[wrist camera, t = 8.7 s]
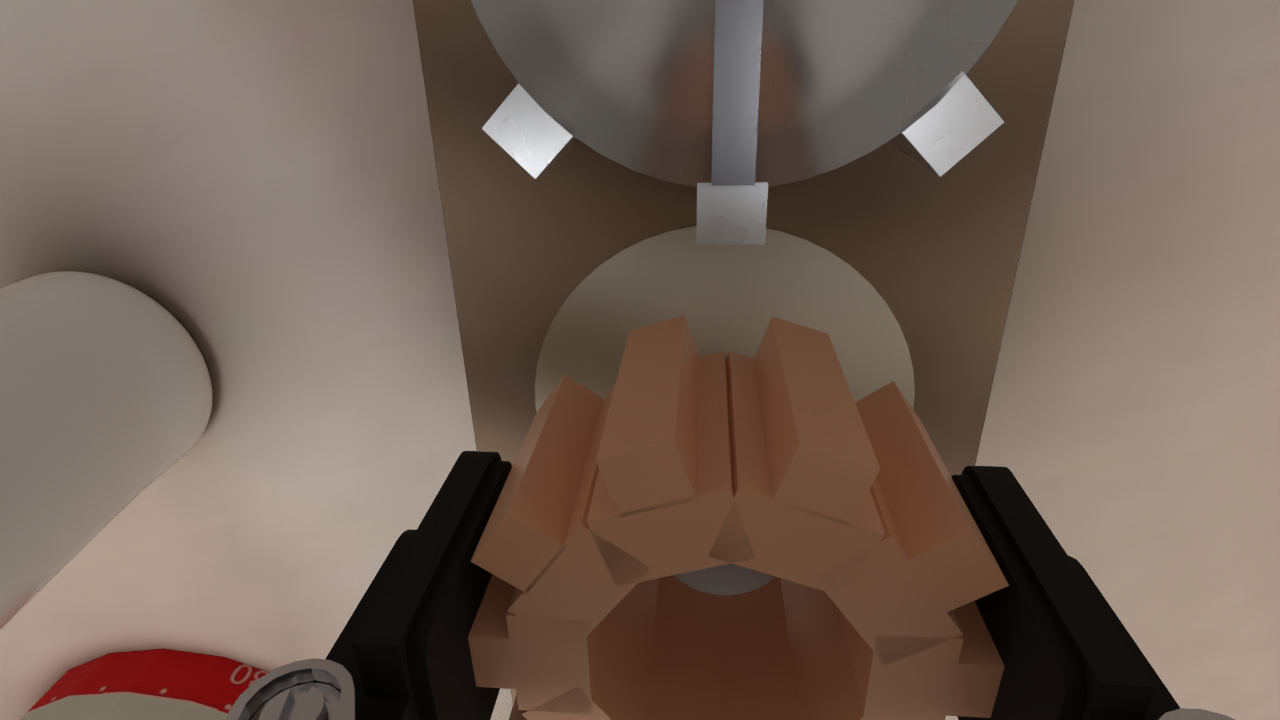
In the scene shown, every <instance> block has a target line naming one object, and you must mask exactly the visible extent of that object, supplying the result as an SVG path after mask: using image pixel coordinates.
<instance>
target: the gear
mask: <svg viewBox="0 0 1280 720" xmlns="http://www.w3.org/2000/svg"><path fill="white" fill-rule="evenodd" d="M471 2H472V4H473V7H474V9H475V11H476V14H477V16H478V18H479V20H480V22H481V24H482V26H483V27H484V29H485V31H486V33H487V35H488V37H489V38H490V40H491V42H492V44H493V46H494V48H495V49H496V51H497V53H498V54H499V56H500V57H501V59H502V60H503V61H504V63H505V64H506V66H507V67H508V68H509V70H510V71H511V73H512V74H513V75H514V77H515V78H516V80H517V81H518V84H517V86H516V87H515V88H514V89H513V91H512V92H511V93H510V94H509V96H508V97H507V98H506V99H505V100H504V102H503V103H502V104H501V105H500V107H499V108H498V109H497V110H496V112H495V113H494V114H493V115H492V116H491V118H490V119H489V120H488V121H487V123H486V124H485V125H484V126H483V128H482V129H483V130H484V131H485V132H486V133H487V134H488V135H489V136H490V137H491V138H492V139H493V140H494V141H495V142H496V143H498V144H499V145H500V146H501V147H502V148H503V149H504V150H505V151H506V152H507V153H508V154H509V155H510V156H511V157H512V158H513V159H514V160H516V161H517V162H518V163H519V164H520V165H521V166H522V167H523V168H524V169H525V170H526V171H527V172H528V173H529V174H530V175H531V176H533V177H534V178H535V179H536V178H537V177H538V176H539V175H540V174H542V173H543V172H544V171H545V170H546V169H547V168H548V167H549V166H551V165H552V164H553V163H554V162H555V161H556V160H557V159H558V158H560V157H561V156H562V155H563V154H564V153H565V152H566V151H568V150H569V149H570V148H571V147H572V146H573V145H574V144H575V142H576V141H577V140H580V141H581V142H583V143H584V144H586V145H587V146H589V147H590V148H592V149H593V150H595V151H596V152H598V153H599V154H601V155H603V156H605V157H607V158H609V159H611V160H613V161H615V162H617V163H619V164H621V165H623V166H625V167H627V168H629V169H631V170H633V171H636V172H639V173H642V174H645V175H648V176H651V177H654V178H657V179H660V180H663V181H667V182H672V183H677V184H682V185H687V186H692V187H697V230H696V245H765V236H766V218H767V200H768V187H771V186H776V185H781V184H786V183H791V182H796V181H801V180H804V179H807V178H810V177H813V176H816V175H819V174H822V173H825V172H828V171H831V170H834V169H837V168H839V167H841V166H843V165H845V164H847V163H849V162H852V161H854V160H856V159H858V158H860V157H862V156H864V155H866V154H868V153H870V152H872V151H874V150H875V149H877V148H878V147H880V146H881V145H883V144H885V143H886V142H889V143H890V144H891V145H893V146H894V147H896V148H897V149H899V150H900V151H902V152H903V153H905V154H906V155H908V156H909V157H911V158H912V159H914V160H915V161H917V162H919V163H920V164H922V165H923V166H925V167H926V168H928V169H929V170H931V171H932V172H934V173H935V174H937V175H938V176H940V177H941V176H942V175H943V174H944V173H946V172H947V171H948V170H949V169H950V168H951V167H953V166H954V165H955V164H956V163H957V162H958V161H960V160H961V159H962V158H963V157H964V156H965V155H967V154H968V153H969V152H970V151H971V150H972V149H974V148H975V147H976V146H977V145H978V144H979V143H981V142H982V141H983V140H984V139H985V138H986V137H988V136H989V135H990V134H991V133H992V132H993V131H995V130H996V129H997V128H998V127H999V126H1000V125H1002V124H1003V123H1004V121H1003V120H1002V119H1001V117H1000V116H999V115H998V114H997V113H996V111H995V110H994V109H993V108H992V106H991V105H990V104H989V103H988V102H987V100H986V99H985V98H984V97H983V95H982V94H981V93H980V92H979V91H978V89H977V88H976V87H975V86H974V84H973V83H972V82H971V81H970V79H969V78H968V77H967V76H966V74H967V73H968V71H969V70H970V69H971V68H972V66H973V65H974V64H975V63H976V61H977V60H978V59H979V58H980V56H981V55H982V54H983V53H984V51H985V50H986V49H987V48H988V46H989V45H990V44H991V43H992V41H993V40H994V38H995V37H996V35H997V33H998V32H999V30H1000V29H1001V27H1002V25H1003V24H1004V22H1005V21H1006V19H1007V18H1008V16H1009V14H1010V13H1011V11H1012V10H1013V8H1014V7H1015V5H1016V3H1017V2H1018V0H471Z"/></svg>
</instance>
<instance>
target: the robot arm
mask: <svg viewBox="0 0 1280 720" xmlns="http://www.w3.org/2000/svg"><path fill="white" fill-rule="evenodd" d="M511 469H512V464H511V462H510V461H502V460H501V457H500V454H499V453H498V452H481V451H464V452H462V453H461V455H460V456H459V458H458V459H457V461H456V463H455V465H454V466H453V468H452V470H451V472H450V473H449V475H448V477H447V479H446V480H445V482H444V484H443V486H442V487H441V489H440V491H439V492H438V494H437V496H436V498H435V499H434V501H433V503H432V505H431V506H430V508H429V510H428V512H427V513H426V515H425V517H424V518H423V520H422V522H421V524H420V525H419V527H418V529H417V530H407V531H405V532H403V533H402V535H401V536H400V537H399V538H398V540H397V541H396V543H395V545H394V546H393V548H392V550H391V551H390V553H389V555H388V556H387V558H386V560H385V561H384V563H383V565H382V566H381V568H380V570H379V571H378V573H377V575H376V576H375V578H374V580H373V581H372V583H371V584H370V586H369V588H368V589H367V591H366V593H365V594H364V596H363V598H362V599H361V601H360V603H359V604H358V606H357V608H356V609H355V611H354V613H353V614H352V616H351V618H350V619H349V621H348V623H347V624H346V626H345V628H344V629H343V631H342V633H341V634H340V636H339V638H338V639H337V641H336V643H335V644H334V646H333V648H332V649H331V651H330V653H329V654H328V656H327V657H326V659H307V660H301V661H295V662H292V663H290V664H287V665H284V666H282V667H279V668H277V669H274V670H273V671H271V672H269V673H268V674H266V675H265V676H263V677H261V678H260V679H258V680H256V681H255V682H254V683H253V684H252V685H251V686H250V687H249V688H248V689H246V690H245V691H244V692H243V693H242V694H241V695H240V696H239V698H238V699H237V700H236V702H235V703H234V705H233V706H232V707H231V709H230V710H229V712H228V715H227V718H226V720H490V719H491V715H492V712H493V709H494V706H495V703H496V699H497V696H498V693H499V690H500V688H490V687H476V681H475V675H474V670H473V664H472V658H471V652H470V646H469V641H468V635H469V633H470V630H471V628H472V625H473V622H474V620H475V617H476V615H477V612H478V610H479V607H480V605H481V602H482V600H483V597H484V594H485V592H486V589H487V587H488V584H489V582H490V579H491V577H492V573H490V572H488V571H486V570H485V569H483V568H481V567H479V566H478V565H476V564H474V563H473V562H471V559H472V557H473V555H474V552H475V550H476V548H477V546H478V543H479V541H480V539H481V537H482V534H483V532H484V530H485V527H486V525H487V523H488V521H489V518H490V516H491V514H492V512H493V509H494V507H495V505H496V503H497V500H498V498H499V496H500V494H501V491H502V489H503V487H504V485H505V482H506V480H507V478H508V476H509V473H510V471H511ZM951 478H952V480H953V482H954V483H955V485H956V487H957V489H958V491H959V493H960V495H961V497H962V498H963V500H964V502H965V504H966V506H967V508H968V510H969V511H970V513H971V515H972V517H973V519H974V521H975V523H976V525H977V526H978V528H979V530H980V532H981V534H982V536H983V538H984V540H985V541H986V543H987V545H988V547H989V549H990V551H991V553H992V554H993V556H994V558H995V560H996V562H997V564H998V566H999V568H1000V569H1001V571H1002V573H1003V575H1004V577H1005V579H1006V581H1007V583H1008V584H1009V586H1007V587H1005V588H1002V589H1000V590H998V591H995V592H993V593H991V594H989V595H986V596H984V597H982V598H979V599H977V600H975V603H976V605H977V607H978V609H979V612H980V614H981V616H982V618H983V620H984V622H985V625H986V627H987V629H988V631H989V633H990V635H991V638H992V640H993V642H994V644H995V646H996V649H997V651H998V653H999V655H1000V657H1001V659H1002V662H1003V664H1004V666H1005V667H1004V670H1003V674H1002V678H1001V681H1000V685H999V689H998V692H997V696H996V699H995V703H994V707H993V710H992V714H991V718H981V717H964V716H958V719H959V720H1235V719H1232V718H1230V717H1228V716H1226V715H1222V714H1218V713H1214V712H1210V711H1206V710H1203V709H1183V708H1181V709H1180V707H1179V706H1178V704H1177V703H1176V701H1175V700H1174V698H1173V697H1172V695H1171V694H1170V693H1169V691H1168V690H1167V688H1166V687H1165V685H1164V684H1163V682H1162V681H1161V679H1160V678H1159V677H1158V675H1157V674H1156V672H1155V671H1154V669H1153V668H1152V666H1151V665H1150V663H1149V662H1148V661H1147V659H1146V658H1145V656H1144V655H1143V653H1142V652H1141V650H1140V649H1139V647H1138V646H1137V645H1136V643H1135V642H1134V640H1133V639H1132V637H1131V636H1130V634H1129V633H1128V632H1127V630H1126V629H1125V627H1124V626H1123V624H1122V623H1121V621H1120V620H1119V618H1118V617H1117V616H1116V614H1115V613H1114V611H1113V610H1112V608H1111V607H1110V605H1109V604H1108V602H1107V601H1106V600H1105V598H1104V597H1103V595H1102V594H1101V592H1100V591H1099V589H1098V588H1097V586H1096V585H1095V584H1094V582H1093V581H1092V579H1091V578H1090V576H1089V575H1088V573H1087V572H1086V571H1085V569H1084V568H1083V566H1082V565H1081V564H1080V563H1079V562H1078V561H1077V560H1076V559H1074V558H1072V557H1070V556H1068V555H1067V554H1066V552H1065V551H1064V549H1063V548H1062V546H1061V545H1060V543H1059V542H1058V541H1057V539H1056V538H1055V536H1054V535H1053V533H1052V532H1051V530H1050V529H1049V527H1048V526H1047V524H1046V523H1045V521H1044V520H1043V518H1042V517H1041V515H1040V514H1039V512H1038V511H1037V509H1036V508H1035V506H1034V505H1033V503H1032V502H1031V500H1030V499H1029V498H1028V496H1027V495H1026V493H1025V492H1024V490H1023V489H1022V487H1021V486H1020V484H1019V483H1018V481H1017V480H1016V478H1015V477H1014V475H1013V474H1012V472H1011V471H1010V470H1009V469H1008V468H1006V467H993V466H966V467H965V468H964V470H963V471H962V474H961V475H953V476H952V477H951Z"/></svg>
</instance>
